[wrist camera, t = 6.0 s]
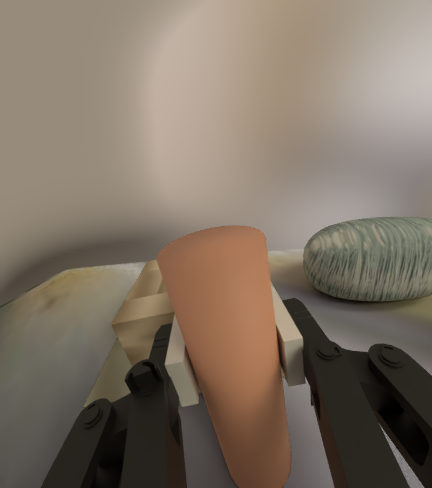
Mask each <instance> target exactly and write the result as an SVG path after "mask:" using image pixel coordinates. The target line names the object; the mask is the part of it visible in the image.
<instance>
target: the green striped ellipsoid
mask: <svg viewBox="0 0 432 488" xmlns="http://www.w3.org/2000/svg"><path fill="white" fill-rule="evenodd" d="M303 257H304V261H303V266H304V270H305V274H306V276H307V278H308V280H309V281H310V283H311V284H312V285H313V286H314V287H315V288H316V289H318V290H319V291H321V292H324V293H326V294H328V295H331V296H334V297H338V298H344V299H350V300H360V301H396V300H406V299H415V298H420V297H424V296H428V295H431V294H432V219H428V218H418V217H381V218H367V219H358V220H351V221H346V222H341V223H338V224H334V225H331V226H328V227H326V228H324V229H322V230H320V231H319V232H317V233H316V234H315V235H313V236H312V237H311V239H310V240H309V241H308V243H307V244H306V247H305V249H304V256H303Z"/></svg>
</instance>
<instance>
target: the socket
mask: <svg viewBox="0 0 432 488" xmlns="http://www.w3.org/2000/svg"><path fill="white" fill-rule="evenodd" d="M174 315H175V313H174V310H173V307H172V304H171V301H170V299H169V296H168V293H167V290H166V287H165V284H164V281H163V278H162V275H161V272H160V270H159V267H158V264H157V260H152V261H148V262H147V263H146V265H145V267H144V268H143V270H142V272H141V274H140V275H139V277H138V279H137V281H136V282H135V284H134V286H133V288H132V289H131V291H130V293H129V294H128V296H127V298H126V300H125V301H124V303H123V305H122V307H121V308H120V310H119V312H118V313H117V315H116V317H115V319H114V320H113V322H112V324H111V325H112V327H113V329H114V331H115V333H116V335H117V337H118V338H117V340H116V342H115V344H114V346H113V348H112V350H111V352H110V354H109V356H108V358H107V360H106V362H105V364H104V366H103V368H102V370H101V372H100V374H99V376H98V378H97V380H96V382H95V384H94V386H93V388H92V390H91V392H90V394H89V396H88V398H87V400H86V402H85V404H84V406H83V408H84V409H85V408H86V407H87V406H88V405H89V404H90V403H92V402H93V401H95V400H98V399H101V398H106V399H108V400H109V401H110V402H111V403H112V402H114V401H116V400H118V399H120V398H122V397H124V396H126V395H128V394H129V393H131V392H130V390H129V388H128V386H127V385H126V383H125V381H124V380H125V377H126V374H127V373H128V371H129V370H130V368H131V367H133V366H134V365H135V364H136V363H138V362H140V361H141V360H144V359H149V355H150V352H151V349H152V345H153V343H154V338H155V334H156V332H157V331H158V329H159V328H160V326H161V325H165V324H170V323H173V320H174ZM280 366H281V365H280ZM281 374H282V377H285V376H284V373H283V370H282V368H281ZM199 393H202V391H201V389H200V386H199Z"/></svg>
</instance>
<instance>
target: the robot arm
mask: <svg viewBox="0 0 432 488" xmlns="http://www.w3.org/2000/svg"><path fill="white" fill-rule="evenodd" d="M271 289H272V298H273V306H274V315H275V323H276V332H277V340H278V349H279V357H280V365H281V368H282V370H283V373H284V376H285V378H286V381H287V383H288V386H294V385H299V384H304V383H305V377H306V379H307V381H308V383H309V385H310V390H311V405H313V406H314V409H315V413H316V417H317V421H318V425H319V429H320V432H321V436H322V440H323V444H324V448H325V452H326V456H327V460H328V464H329V468H330V472H331V476H332V480H333V483H334V487H335V488H410V487H409V485H408V483H407V481H406V479H405V477H404V475H403V473H402V471H401V469H400V467H399V464H398V462H397V460H396V458H395V456H394V454H393V452H392V450H391V448H390V446H389V444H388V442H387V439H386V437H385V435H384V433H383V431H382V429H381V427H382V428H383V429H384V431H385V432H386V434H387V435H388V436H389V438H390V439H391V441H392V442H393V443H394V445H395V446H396V448H397V449H398V451H399V452H400V453H401V455H402V456H403V458H404V459H405V460H406V462H407V463H408V465H409V466H410V468H411V469H412V470H413V472H414V473H415V475H416V476H417V477H418V479H419V480H420V482H421V483H422V485H423V486H424V487H425V488H432V376H431V375H430V374H429V373H428V372H427V371H426V370H425V369H424V368H422V367H421V366H420V365H419V364H418V363H417V362H416V361H415V360H414V359H412V358H411V357H410V356H409V355H408V354H406V353H405V352H404V351H402V350H401V349H399V348H397V347H394V346H392V345H387V344H375V345H373V346H371V347H370V349H369V350H368V352H360V351H351V350H346V349H343V348H341V347H340V346H339V345H337V344H336V343H335V342H332V341H330V340H329V339H328V338H327V336H326V335H325V334H324V332H323V331H322V329H321V328H320V327H319V325H318V324H317V322H316V321H315V320H314V318H313V317H312V316H311V314H310V313H309V311H308V310H307V308H306V307H305V306H304V304H303V303H302V302H300V301H299V300H297V299H296V298H292V299H287V300H281V299H280V297H279V295H278V293H277V292H276V290H275V288H274V286H273V285H272V283H271ZM124 381H125V383H126V385H127V386H128V388H129V390H130V392H131V393H129V394H128V395H126V396H124V397H122V398H120V399H118V400H116V401H114V402H112V403H111V402H110V401H109V400H108V399H106V398H101V399H98V400H95V401H93V402H92V403H90V404H89V405H88V406H87V407H86V408H85V409H84V410H83V411H82V412H81V413H80V415H79V416H78V418H77V419H76V421H75V423H74V425H73V427H72V429H71V431H70V432H69V434H68V436H67V438H66V440H65V442H64V444H63V446H62V448H61V450H60V452H59V454H58V455H57V457H56V459H55V461H54V463H53V465H52V467H51V469H50V471H49V473H48V475H47V477H46V478H45V480H44V482H43V484H42V486H41V488H187V483H186V472H185V462H184V451H183V440H182V429H181V419H180V415H179V413H178V406H179V401H180V403H181V406H182V407H185V406H190V405H195V404H198V403H199V383H198V380H197V377H196V374H195V371H194V368H193V365H192V362H191V360H190V357H189V354H188V351H187V348H186V345H185V342H184V339H183V336H182V333H181V331H180V328H179V325H178V322H177V319H176V316H175V315H174V320H173V323H170V324H165V325H161V326H160V328H159V329H158V331H157V332H156V334H155V338H154V343H153V345H152V349H151V352H150V355H149V359H144V360H141V361H140V362H138V363H136V364H135V365H134V366H133V367H131V368H130V370H129V371H128V373H127V374H126V377H125V380H124ZM378 422H379V423H378ZM379 424H380V425H381V427H380V425H379Z"/></svg>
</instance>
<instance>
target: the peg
mask: <svg viewBox="0 0 432 488" xmlns="http://www.w3.org/2000/svg"><path fill="white" fill-rule="evenodd" d="M157 264H158V267H159V270H160V272H161V275H162V278H163V281H164V284H165V287H166V290H167V293H168V296H169V299H170V301H171V304H172V307H173V310H174V313H175V316H176V319H177V322H178V325H179V328H180V331H181V333H182V336H183V339H184V342H185V345H186V348H187V351H188V354H189V357H190V360H191V362H192V365H193V368H194V371H195V374H196V377H197V380H198V383H199V386H200V389H201V391H202V394H203V397H204V400H205V403H206V406H207V409H208V412H209V415H210V418H211V421H212V423H213V426H214V429H215V432H216V435H217V438H218V441H219V444H220V447H221V450H222V452H223V455H224V458H225V461H226V464H227V467H228V470H229V473H230V475H231V477H232V479H233V480H234V482H235V483H236V485H237V486H238V487H239V488H283V486H284V485H285V483H286V481H287V479H288V477H289V473H290V468H291V451H290V442H289V434H288V425H287V417H286V408H285V400H284V391H283V383H282V374H281V366H280V357H279V349H278V340H277V332H276V323H275V315H274V306H273V298H272V289H271V281H270V272H269V263H268V255H267V247H266V238H265V235H264V233H263V232H261V231H260V230H258V229H255V228H252V227H247V226H222V227H215V228H209V229H205V230H201V231H197V232H194V233H191V234H188V235H186V236H183V237H181V238H179V239H177V240H175V241H173V242H172V243H170V244H168V245H167V246H166V247H165V248H163V249H162V250H161V251H160V253H159V254H158V256H157Z"/></svg>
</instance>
